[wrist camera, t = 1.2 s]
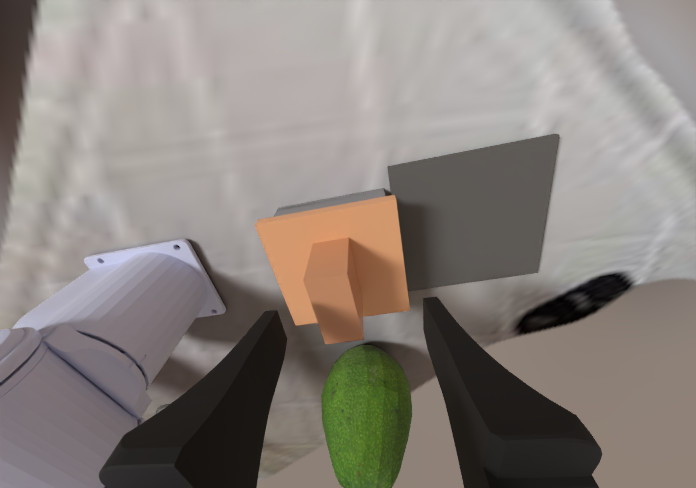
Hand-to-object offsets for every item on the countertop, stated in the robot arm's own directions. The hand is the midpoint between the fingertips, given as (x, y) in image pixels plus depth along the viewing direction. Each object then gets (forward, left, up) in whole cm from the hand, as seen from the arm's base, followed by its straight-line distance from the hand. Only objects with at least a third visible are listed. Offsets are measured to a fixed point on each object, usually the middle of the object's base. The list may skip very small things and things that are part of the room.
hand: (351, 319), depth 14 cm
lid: (-1, -1, -7) cm, 7 cm away
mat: (+9, -1, -10) cm, 13 cm away
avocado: (-2, -15, -10) cm, 18 cm away
